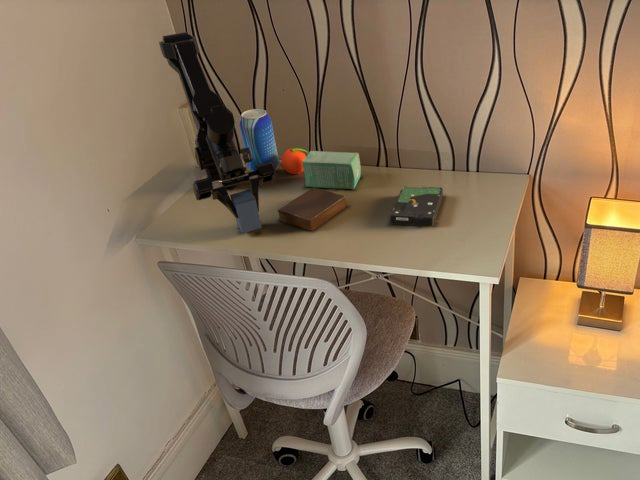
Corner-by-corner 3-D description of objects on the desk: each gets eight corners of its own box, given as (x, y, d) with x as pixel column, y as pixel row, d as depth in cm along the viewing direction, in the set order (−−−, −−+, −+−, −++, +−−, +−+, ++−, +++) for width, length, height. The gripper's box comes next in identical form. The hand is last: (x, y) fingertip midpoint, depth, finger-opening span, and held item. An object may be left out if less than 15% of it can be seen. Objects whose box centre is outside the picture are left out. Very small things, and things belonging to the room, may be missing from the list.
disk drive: (434, 228, 143) (443, 196, 154) (433, 217, 141) (443, 186, 153) (390, 225, 145) (402, 195, 156) (389, 215, 143) (401, 185, 155)
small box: (237, 224, 147) (229, 194, 142) (256, 219, 148) (249, 189, 144) (242, 233, 144) (235, 202, 139) (261, 227, 145) (255, 197, 140)
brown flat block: (279, 220, 150) (277, 209, 148) (315, 197, 158) (313, 187, 156) (311, 231, 145) (309, 220, 143) (346, 207, 153) (345, 196, 151)
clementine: (312, 165, 173) (309, 141, 169) (313, 176, 168) (309, 151, 163) (283, 169, 173) (279, 144, 168) (283, 180, 167) (279, 155, 163)
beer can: (270, 177, 169) (259, 120, 159) (244, 174, 171) (231, 118, 162) (285, 164, 175) (275, 108, 165) (259, 161, 177) (248, 106, 168)
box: (355, 190, 160) (352, 163, 156) (305, 188, 163) (301, 161, 158) (362, 177, 166) (359, 150, 161) (313, 176, 168) (309, 150, 164)
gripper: (182, 148, 133) (207, 214, 132) (266, 128, 140) (290, 191, 138) (184, 168, 144) (207, 230, 142) (262, 149, 150) (284, 208, 149)
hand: (247, 214), depth 143 cm, fingers closed on small box, 4 cm apart
